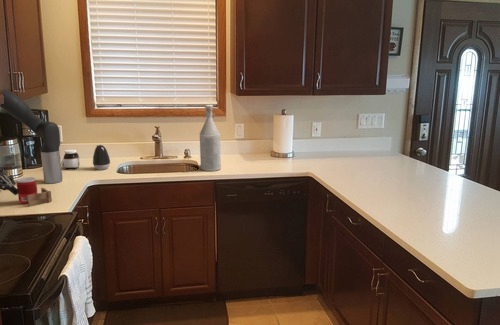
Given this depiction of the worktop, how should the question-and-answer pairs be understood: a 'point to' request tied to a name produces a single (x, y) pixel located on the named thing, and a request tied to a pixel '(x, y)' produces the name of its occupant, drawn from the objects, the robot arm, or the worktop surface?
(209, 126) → the grey bottle
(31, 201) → the v-block stop
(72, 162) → the spread jar
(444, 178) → the worktop surface
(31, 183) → the canned food
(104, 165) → the black egg shaped device
